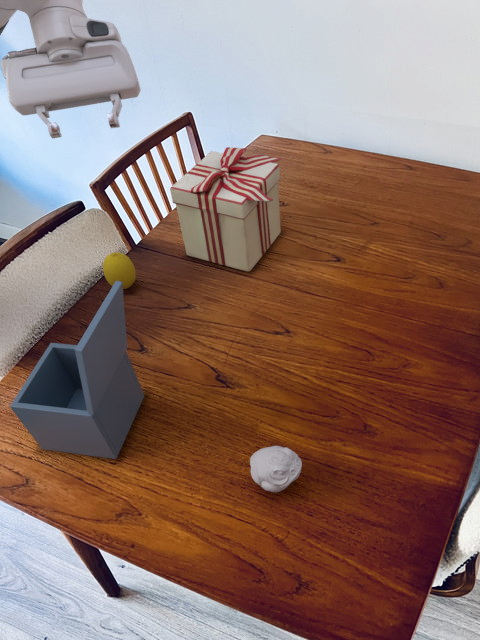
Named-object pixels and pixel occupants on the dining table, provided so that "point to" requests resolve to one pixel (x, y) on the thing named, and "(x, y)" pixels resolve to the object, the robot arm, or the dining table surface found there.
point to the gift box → (229, 208)
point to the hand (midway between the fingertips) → (85, 131)
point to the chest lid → (102, 347)
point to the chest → (76, 406)
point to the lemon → (119, 269)
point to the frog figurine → (275, 468)
